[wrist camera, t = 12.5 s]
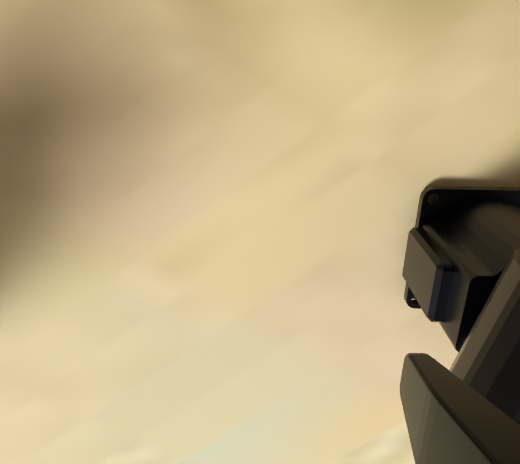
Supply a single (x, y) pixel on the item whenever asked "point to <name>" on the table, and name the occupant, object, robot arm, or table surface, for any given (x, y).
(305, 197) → the table surface
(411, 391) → the robot arm
